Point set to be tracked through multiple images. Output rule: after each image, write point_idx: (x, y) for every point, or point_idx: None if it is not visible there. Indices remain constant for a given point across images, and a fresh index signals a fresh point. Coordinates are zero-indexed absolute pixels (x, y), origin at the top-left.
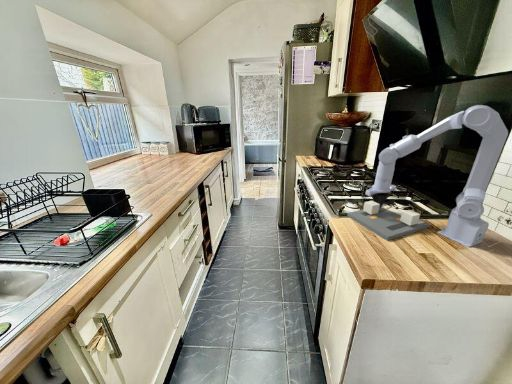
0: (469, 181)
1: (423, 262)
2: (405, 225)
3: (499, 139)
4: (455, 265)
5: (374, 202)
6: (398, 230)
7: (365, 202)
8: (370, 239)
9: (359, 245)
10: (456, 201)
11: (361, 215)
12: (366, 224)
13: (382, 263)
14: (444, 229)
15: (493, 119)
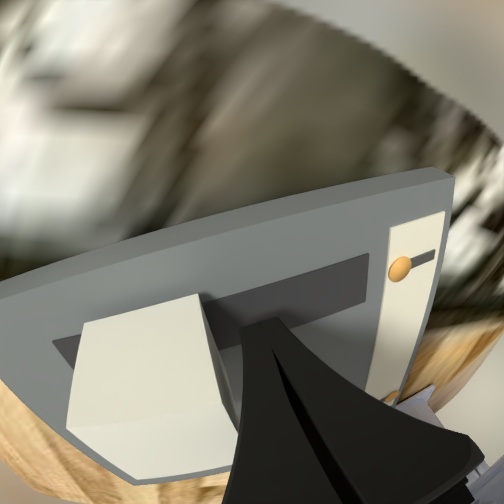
0: None
1: (185, 497)
2: None
3: None
4: None
5: (214, 441)
6: (211, 469)
7: (74, 434)
8: (71, 457)
9: (30, 461)
10: (479, 471)
11: (52, 371)
12: (66, 438)
13: (80, 493)
14: (405, 403)
15: None
